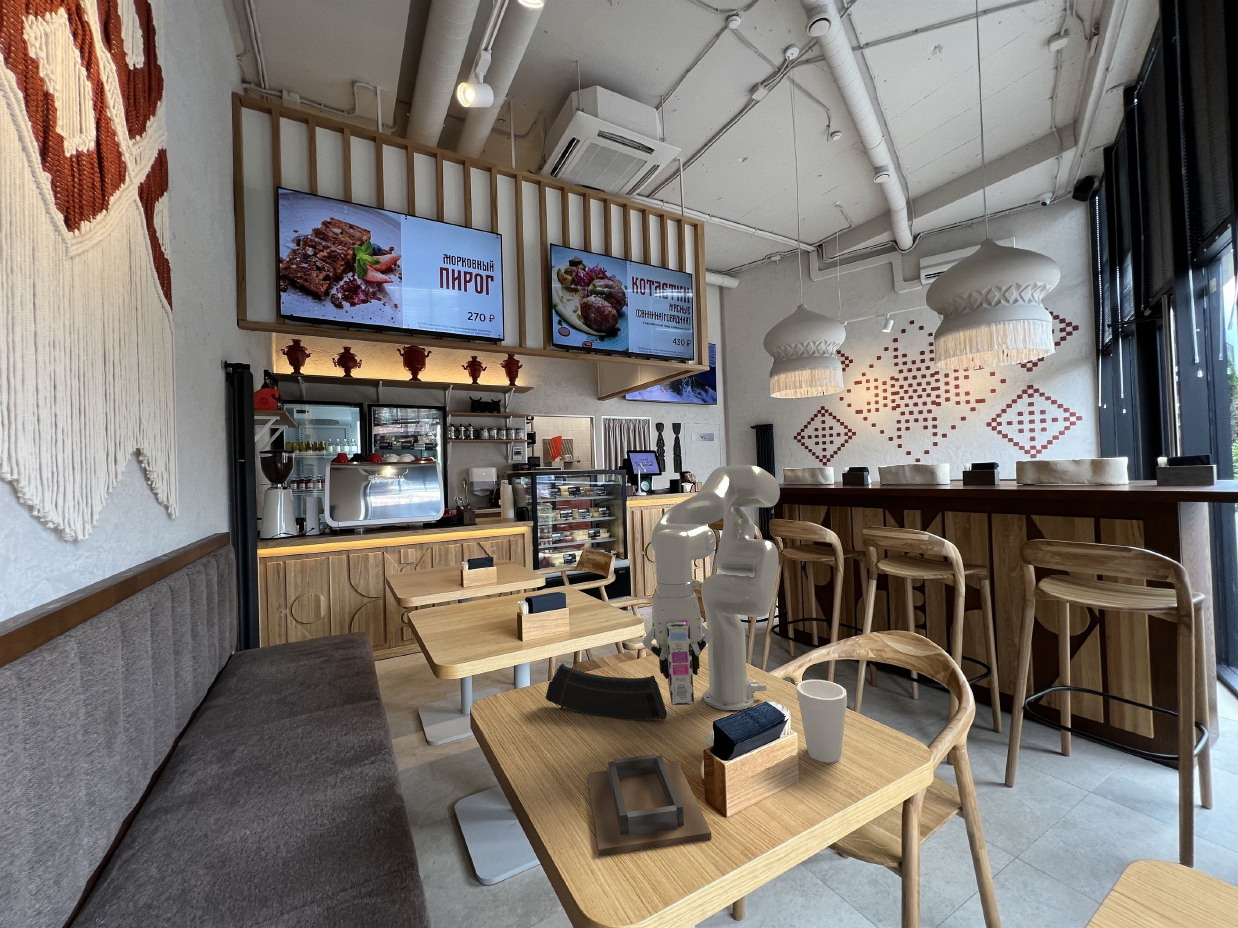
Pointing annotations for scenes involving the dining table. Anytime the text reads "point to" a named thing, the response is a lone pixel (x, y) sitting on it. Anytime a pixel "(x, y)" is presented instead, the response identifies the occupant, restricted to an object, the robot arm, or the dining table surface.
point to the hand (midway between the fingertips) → (679, 673)
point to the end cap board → (644, 806)
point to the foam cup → (822, 718)
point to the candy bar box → (679, 663)
